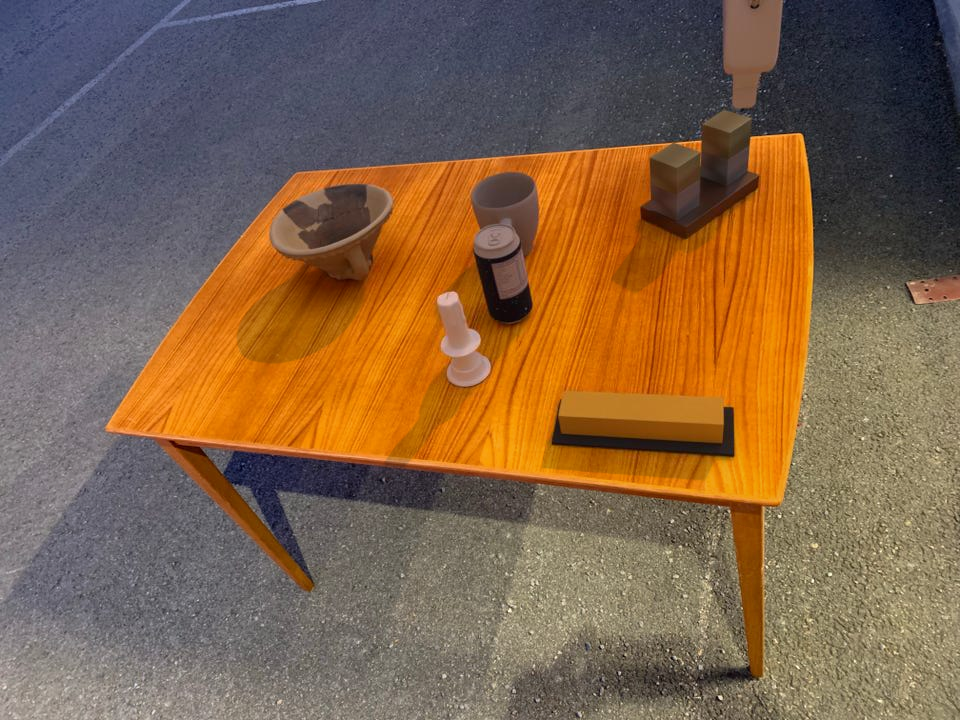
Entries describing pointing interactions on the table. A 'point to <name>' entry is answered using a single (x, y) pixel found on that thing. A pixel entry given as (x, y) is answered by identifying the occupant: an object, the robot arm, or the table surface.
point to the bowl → (333, 228)
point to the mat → (653, 441)
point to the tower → (701, 176)
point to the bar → (642, 416)
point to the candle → (461, 344)
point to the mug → (508, 205)
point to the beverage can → (503, 273)
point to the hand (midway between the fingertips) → (742, 77)
